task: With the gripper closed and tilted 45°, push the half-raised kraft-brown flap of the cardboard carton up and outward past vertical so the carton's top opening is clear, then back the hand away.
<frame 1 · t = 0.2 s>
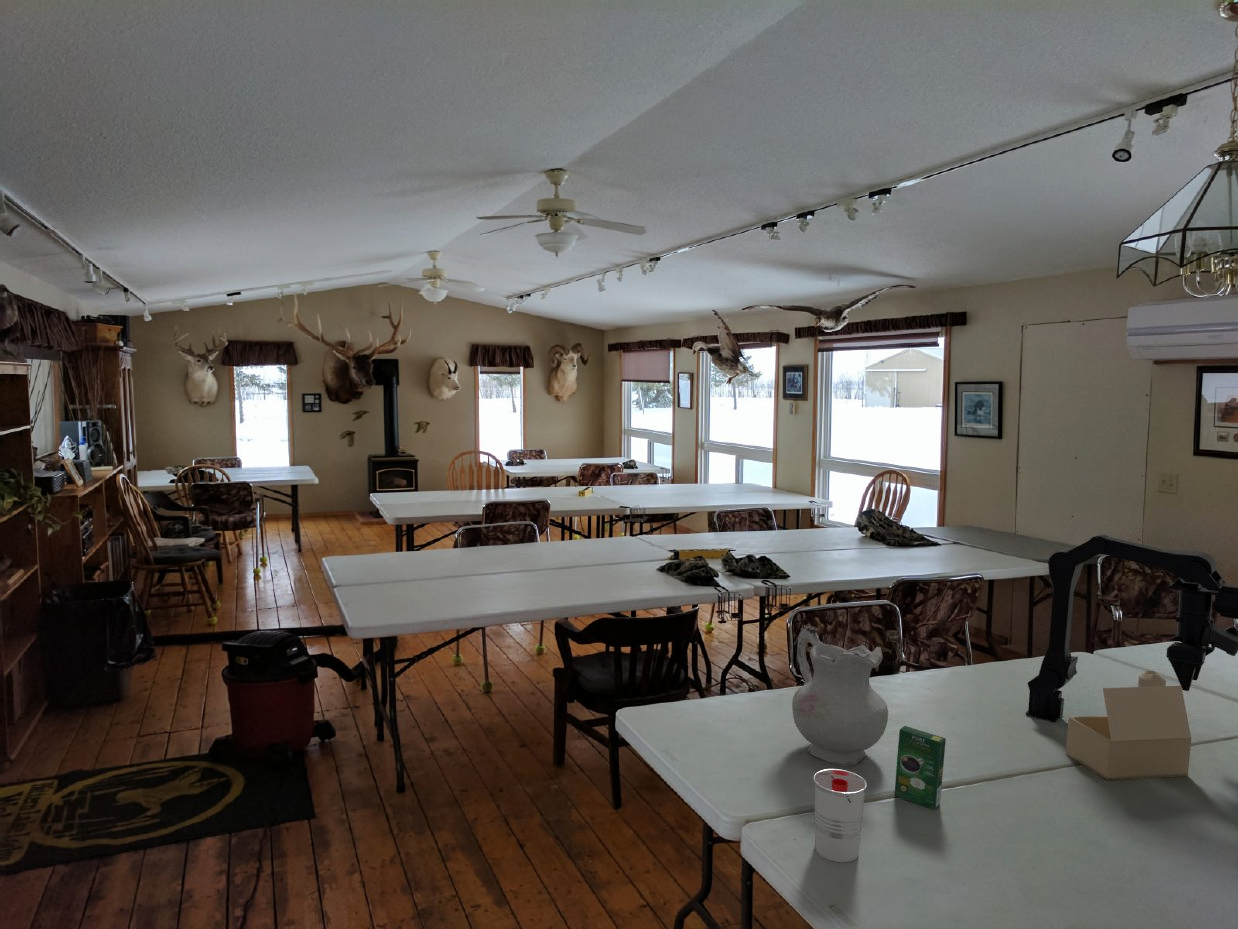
hand: (1189, 685, 179), 15 cm above the table, tool pointing down, fingers open, 9 cm apart
coffee box: (917, 802, 156), on the table
striped cup with float: (836, 852, 139), on the table
carton: (1125, 764, 174), on the table
carton flap: (1146, 713, 168), point 13 cm above the table, hinge at 70.0°
ceramic pitcher: (832, 751, 178), on the table
candle: (1149, 713, 202), on the table
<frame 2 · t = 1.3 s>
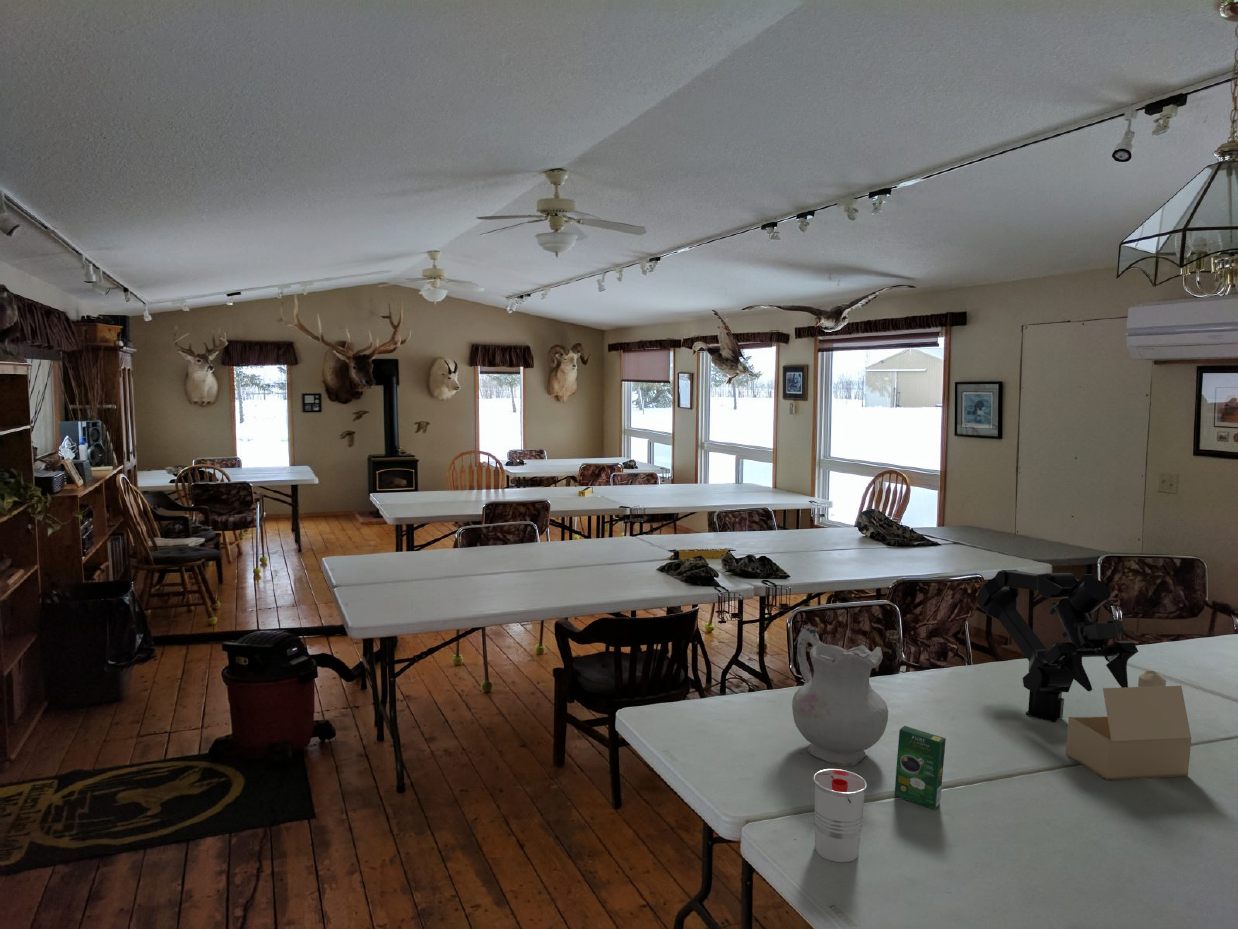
hand: (1108, 690, 179), 13 cm above the table, tool tilted 45°, fingers open, 8 cm apart
nothing on the table moved.
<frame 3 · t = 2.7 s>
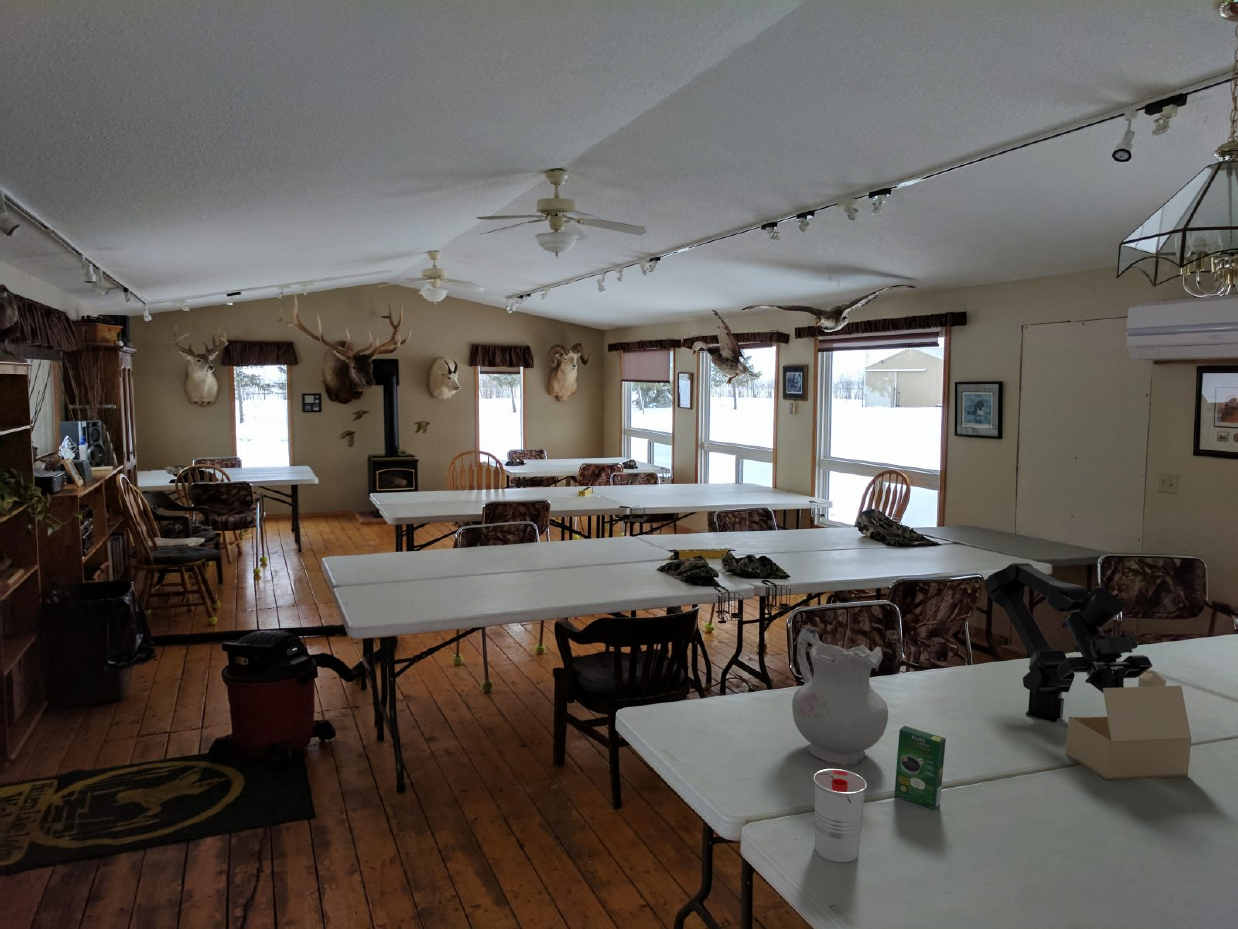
hand: (1122, 705, 175), 12 cm above the table, tool tilted 45°, fingers closed
nothing on the table moved.
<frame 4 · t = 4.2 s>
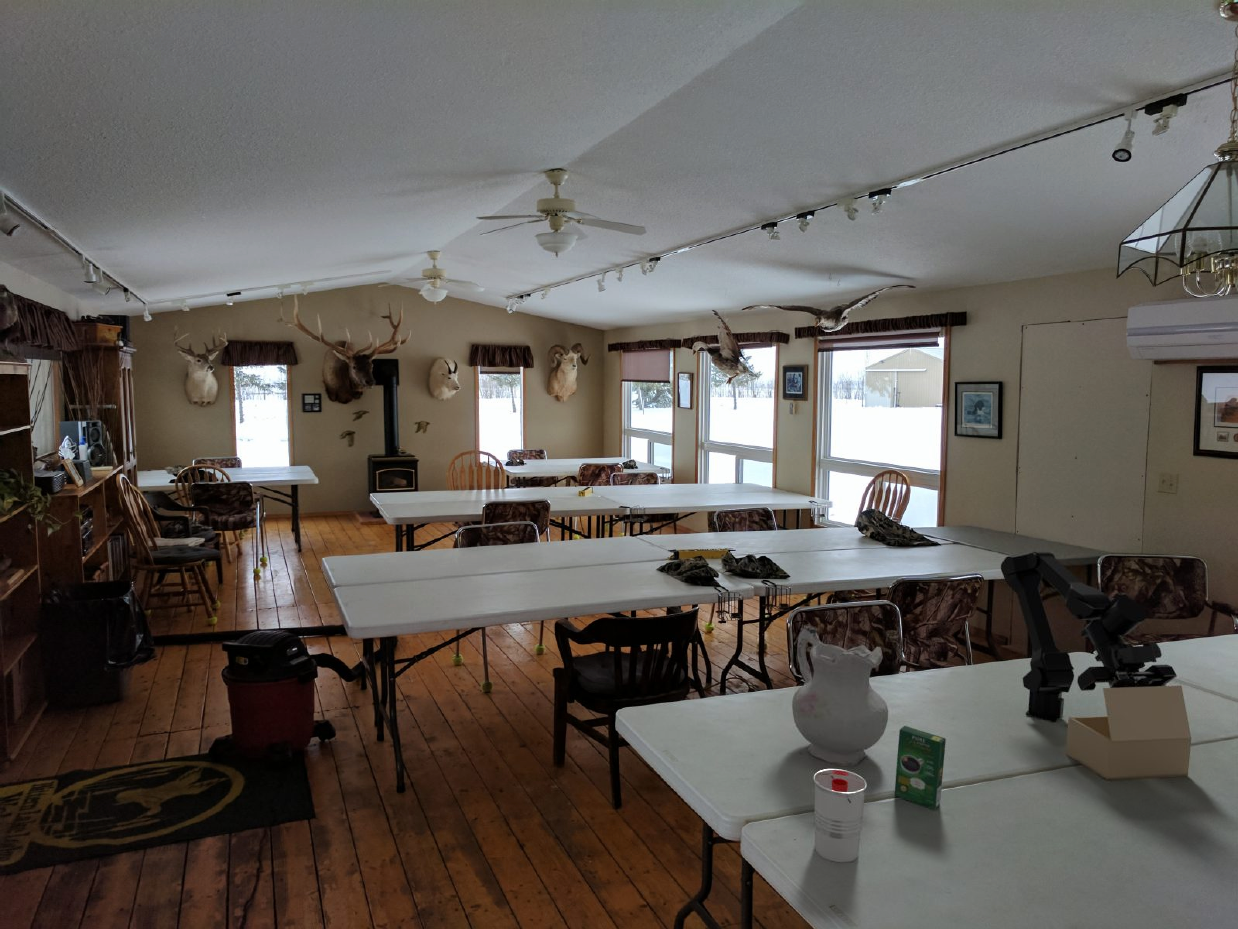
hand: (1146, 717, 168), 12 cm above the table, tool tilted 45°, fingers closed, pressing on carton flap
carton flap: (1147, 713, 168), point 13 cm above the table, hinge at 70.3°, touching gripper
everything else where it was.
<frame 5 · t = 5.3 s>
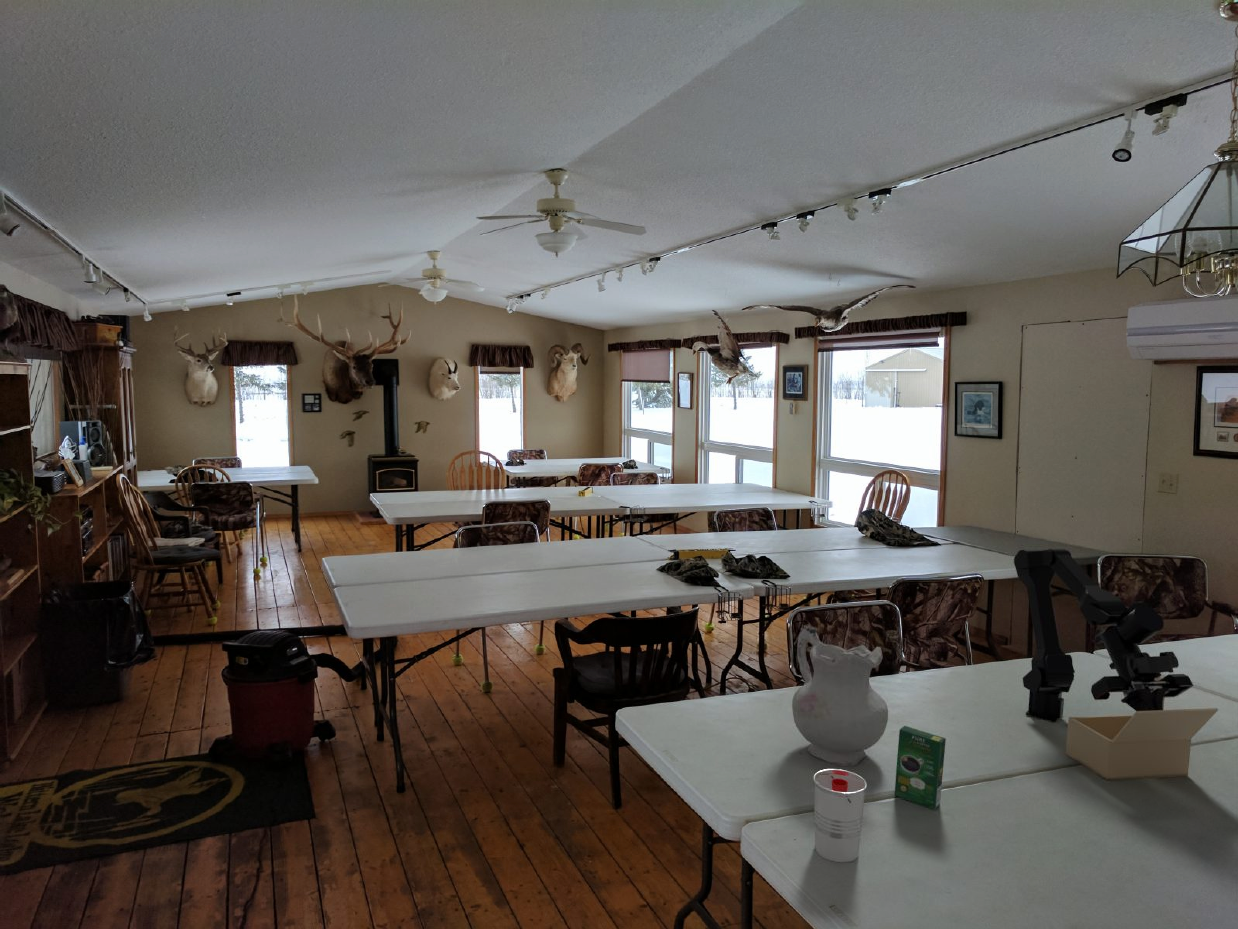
hand: (1161, 728, 165), 11 cm above the table, tool tilted 45°, fingers closed, pressing on carton flap
carton flap: (1164, 725, 164), point 12 cm above the table, hinge at 124.3°, touching carton, gripper
everything else where it was.
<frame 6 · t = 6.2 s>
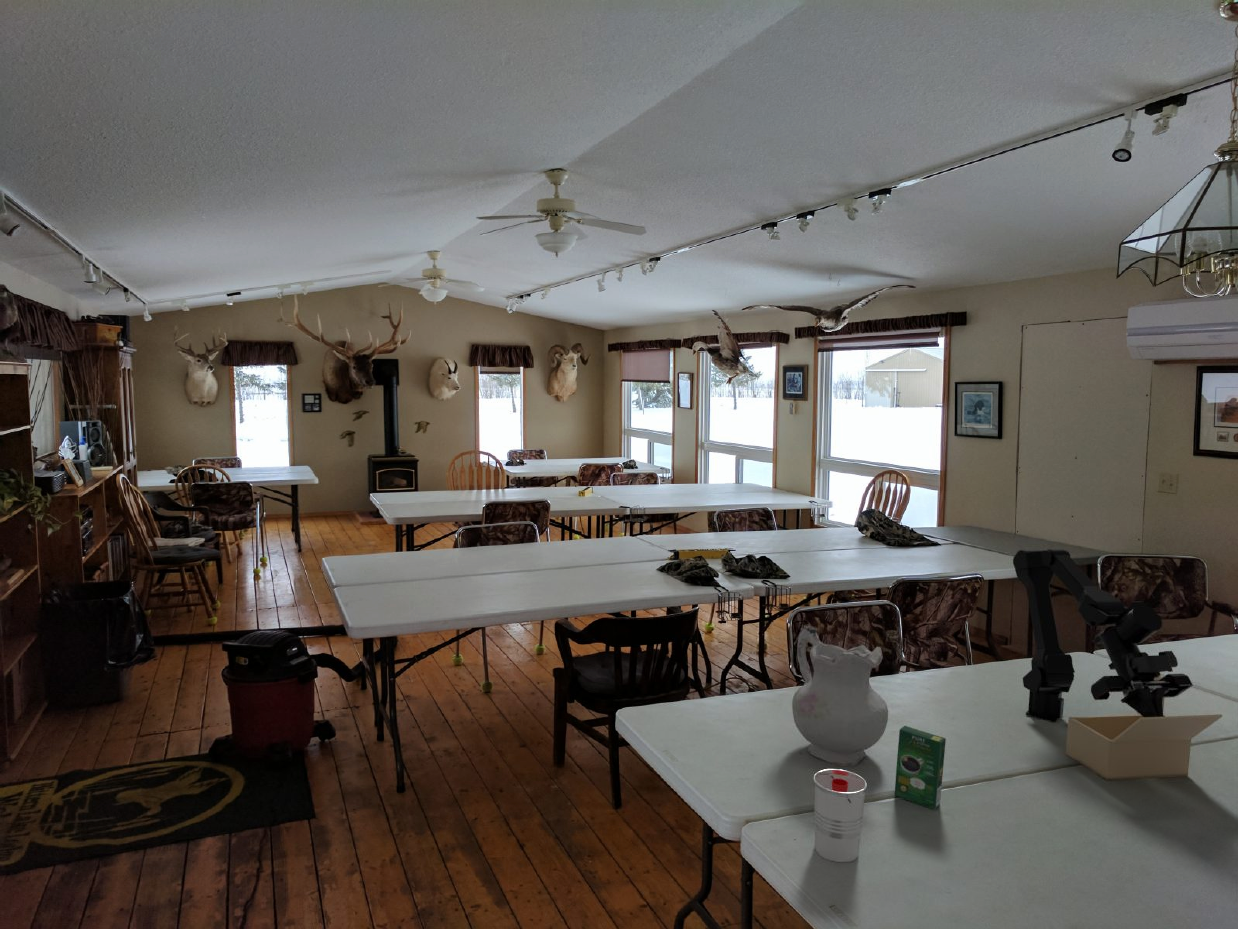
hand: (1161, 728, 165), 11 cm above the table, tool tilted 45°, fingers closed
carton flap: (1166, 729, 163), point 12 cm above the table, hinge at 131.9°, touching carton
everything else where it was.
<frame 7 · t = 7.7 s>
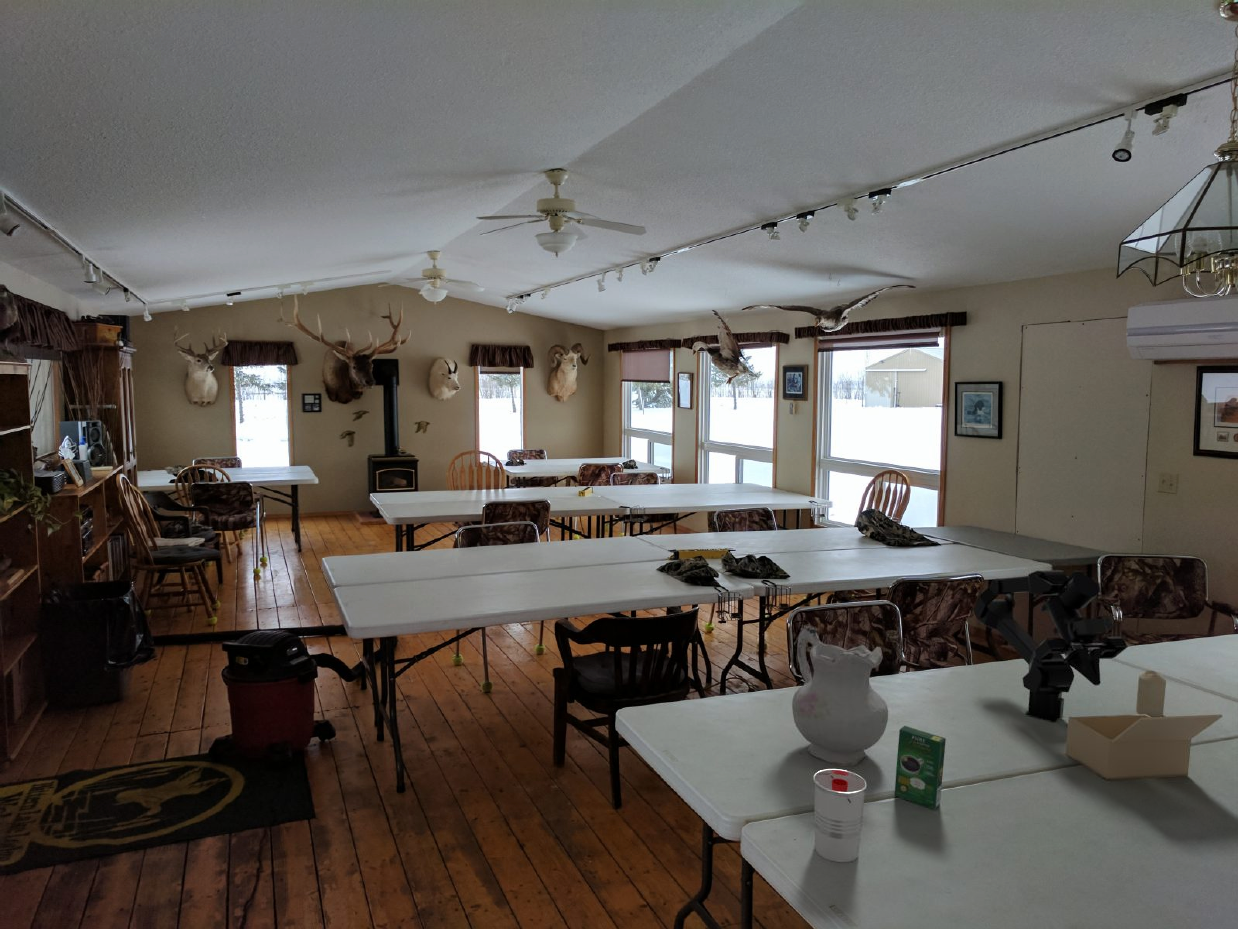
hand: (1097, 684, 182), 13 cm above the table, tool tilted 45°, fingers closed
nothing on the table moved.
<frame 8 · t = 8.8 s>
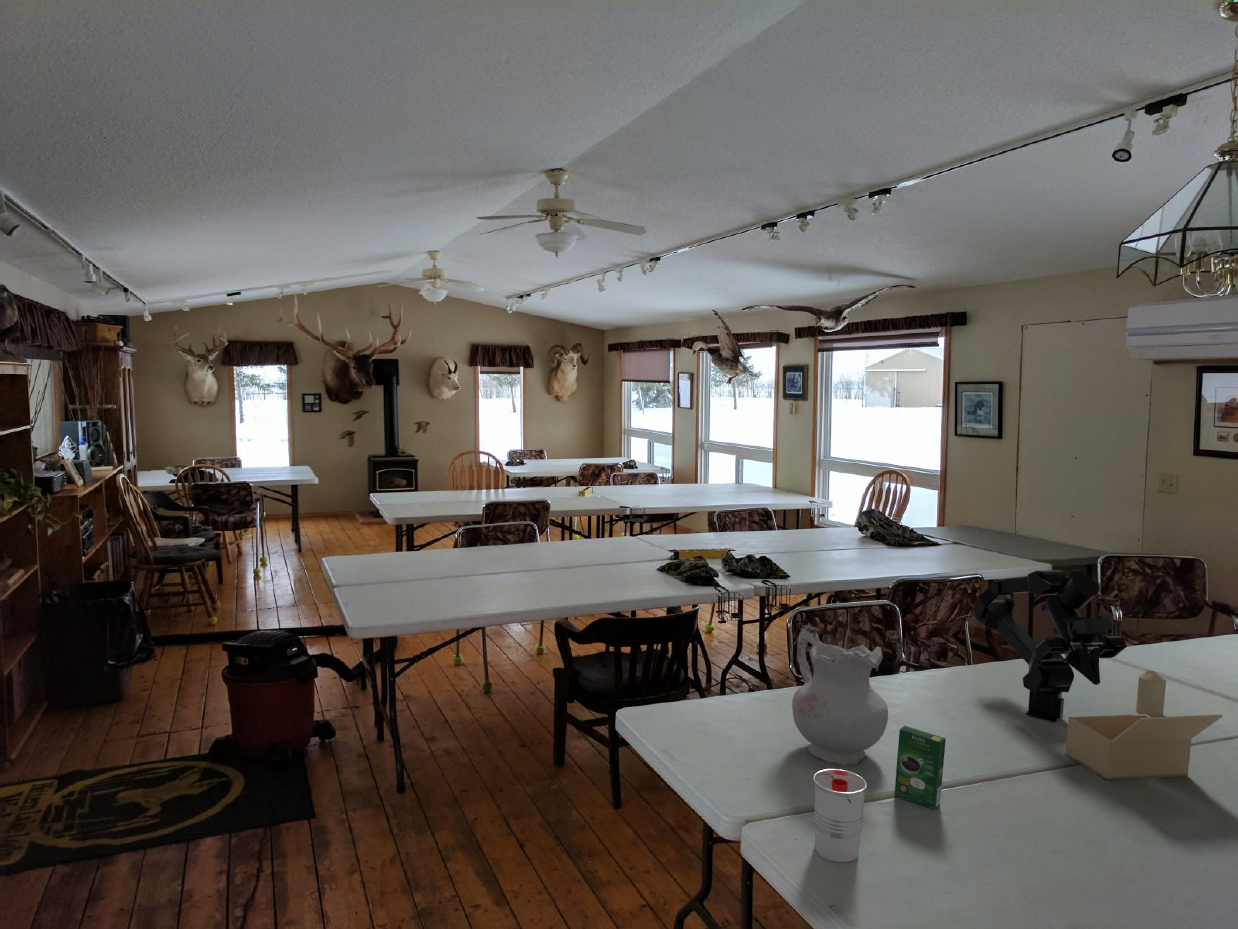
hand: (1097, 684, 182), 14 cm above the table, tool tilted 45°, fingers closed
nothing on the table moved.
at the end: carton flap at +132° (first picture: +70°) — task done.
